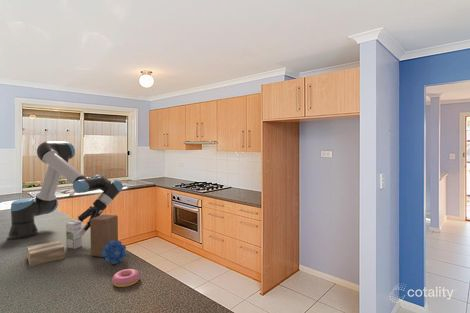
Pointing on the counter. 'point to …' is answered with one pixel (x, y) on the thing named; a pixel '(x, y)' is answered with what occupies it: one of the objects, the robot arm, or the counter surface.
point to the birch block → (45, 252)
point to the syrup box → (73, 234)
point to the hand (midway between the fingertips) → (75, 232)
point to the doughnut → (125, 278)
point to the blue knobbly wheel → (114, 252)
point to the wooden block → (103, 232)
